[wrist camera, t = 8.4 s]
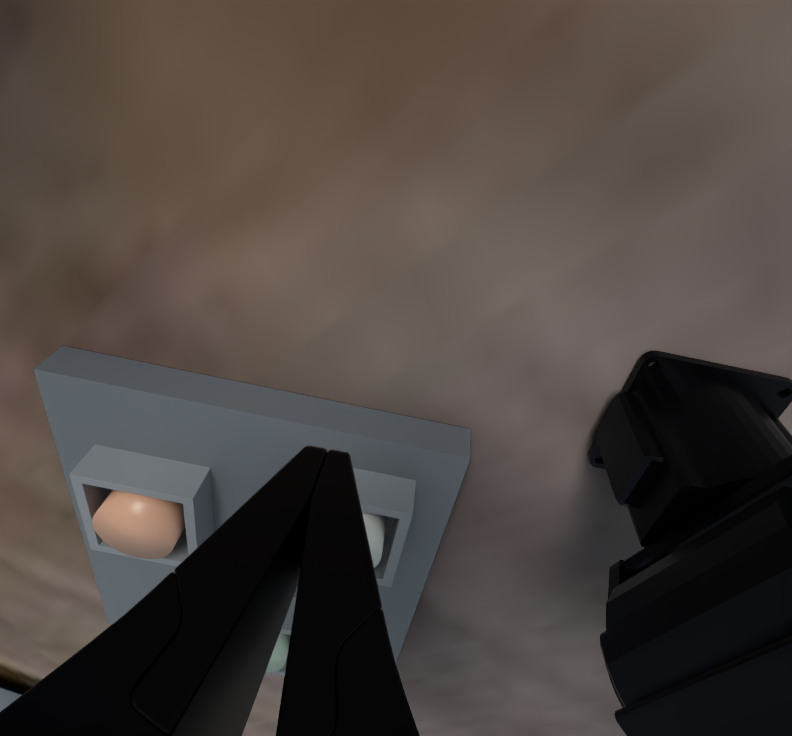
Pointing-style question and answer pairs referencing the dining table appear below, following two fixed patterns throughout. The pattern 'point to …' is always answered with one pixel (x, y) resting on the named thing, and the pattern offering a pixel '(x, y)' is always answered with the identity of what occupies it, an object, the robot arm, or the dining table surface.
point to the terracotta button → (139, 524)
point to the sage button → (279, 653)
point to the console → (239, 465)
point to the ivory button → (375, 534)
